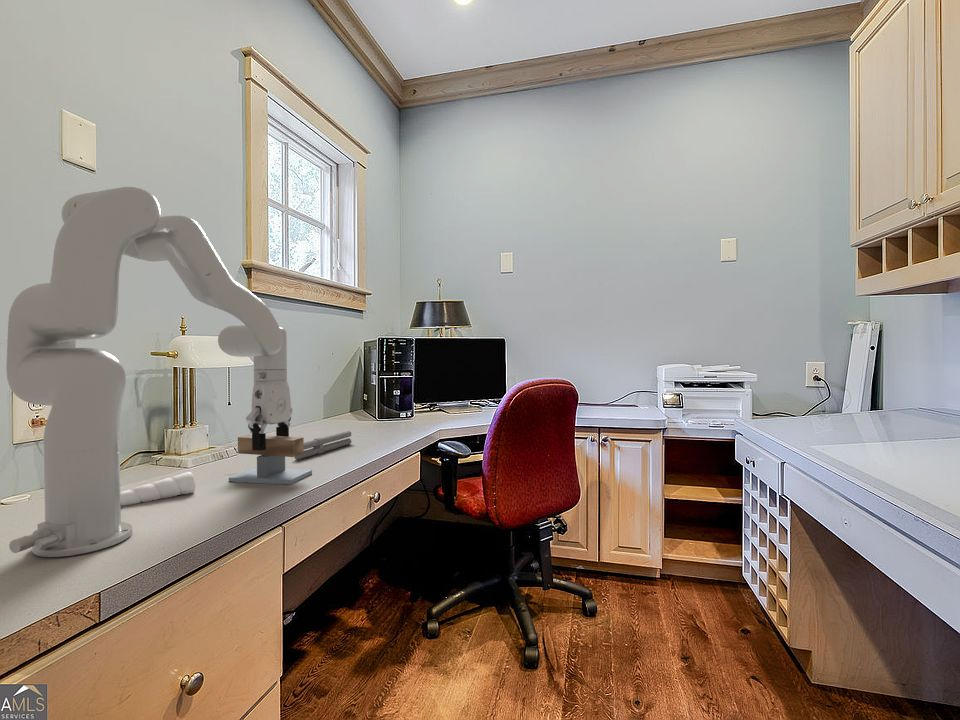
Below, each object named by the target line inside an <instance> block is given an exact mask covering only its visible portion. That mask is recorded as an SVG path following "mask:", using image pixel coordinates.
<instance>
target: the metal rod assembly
mask: <svg viewBox="0 0 960 720" xmlns="http://www.w3.org/2000/svg"><path fill="white" fill-rule="evenodd" d="M350 437H352V431H350V430H347V431H343V432H339V433H335V434H331V435H327V436H324V437H316V438H314V439H312V440H309V441H305V442H304V454H301V455H298V456H295V457H293V458H294V459H295V460H297V461H298V460H302V459H305V458H309V457H311V456H315V455H316V454H318V455H321V453H322V454H323V453H325V452H329V451H332V450H336V449H338V448H342V447H345V445H346V446H348V444H349V445H351V444H352V442H353V441H352V439H351V438H350Z"/></svg>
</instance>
